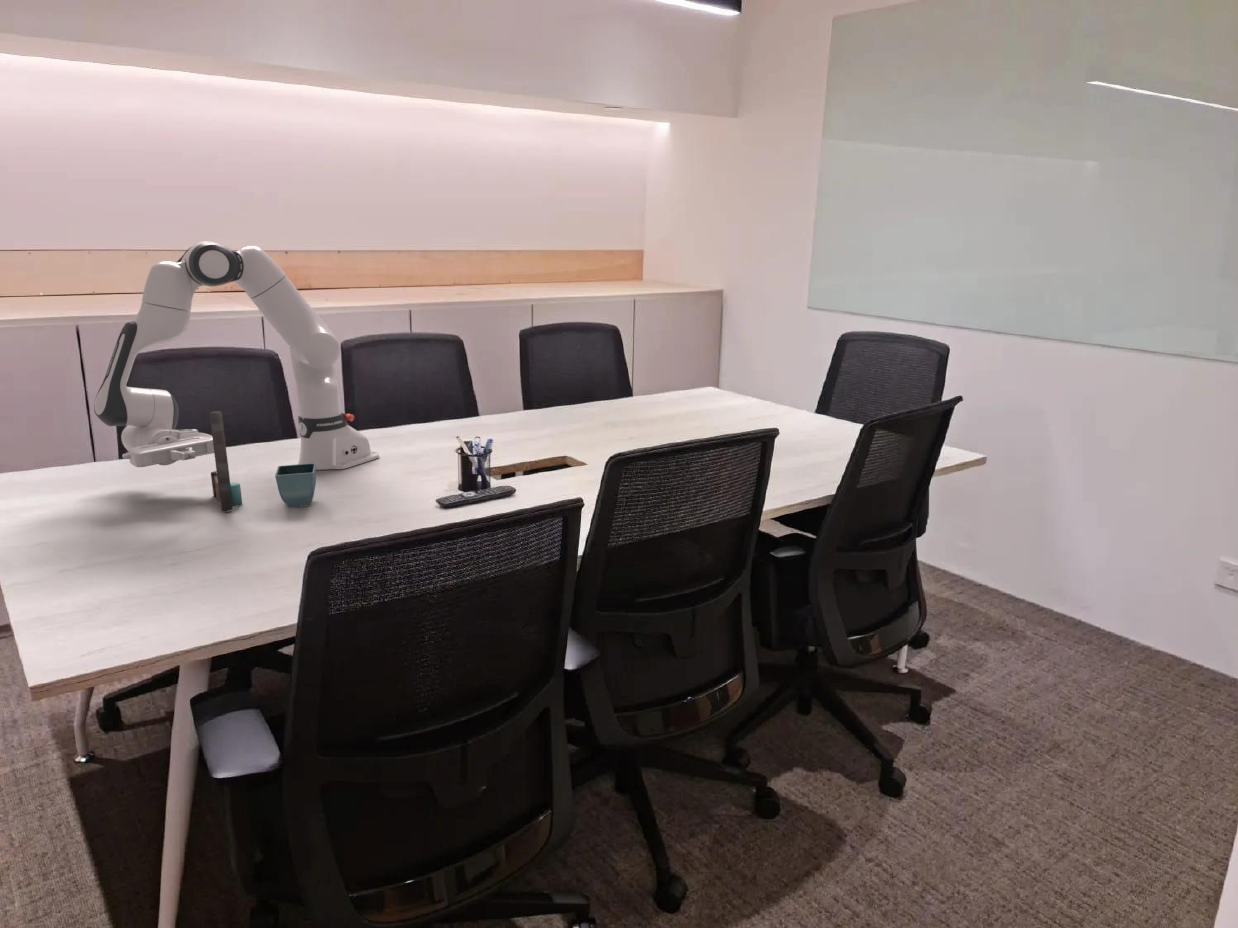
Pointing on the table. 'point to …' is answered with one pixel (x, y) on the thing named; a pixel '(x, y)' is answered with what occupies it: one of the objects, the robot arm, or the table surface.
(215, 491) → the hinge post
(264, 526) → the table surface
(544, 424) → the table surface
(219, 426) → the brown board with post
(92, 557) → the table surface
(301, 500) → the flower pot
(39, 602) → the table surface
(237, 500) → the post
